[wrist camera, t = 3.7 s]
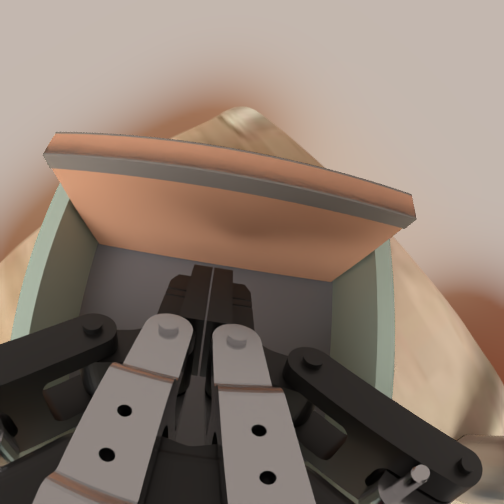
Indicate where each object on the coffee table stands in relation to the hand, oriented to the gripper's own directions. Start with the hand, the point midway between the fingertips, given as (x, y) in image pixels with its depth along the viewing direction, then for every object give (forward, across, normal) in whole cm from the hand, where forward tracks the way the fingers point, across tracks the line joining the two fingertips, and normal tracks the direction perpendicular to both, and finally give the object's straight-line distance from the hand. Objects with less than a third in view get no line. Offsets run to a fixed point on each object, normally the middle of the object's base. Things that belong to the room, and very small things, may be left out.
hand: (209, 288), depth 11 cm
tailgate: (+9, 0, +2) cm, 9 cm away
